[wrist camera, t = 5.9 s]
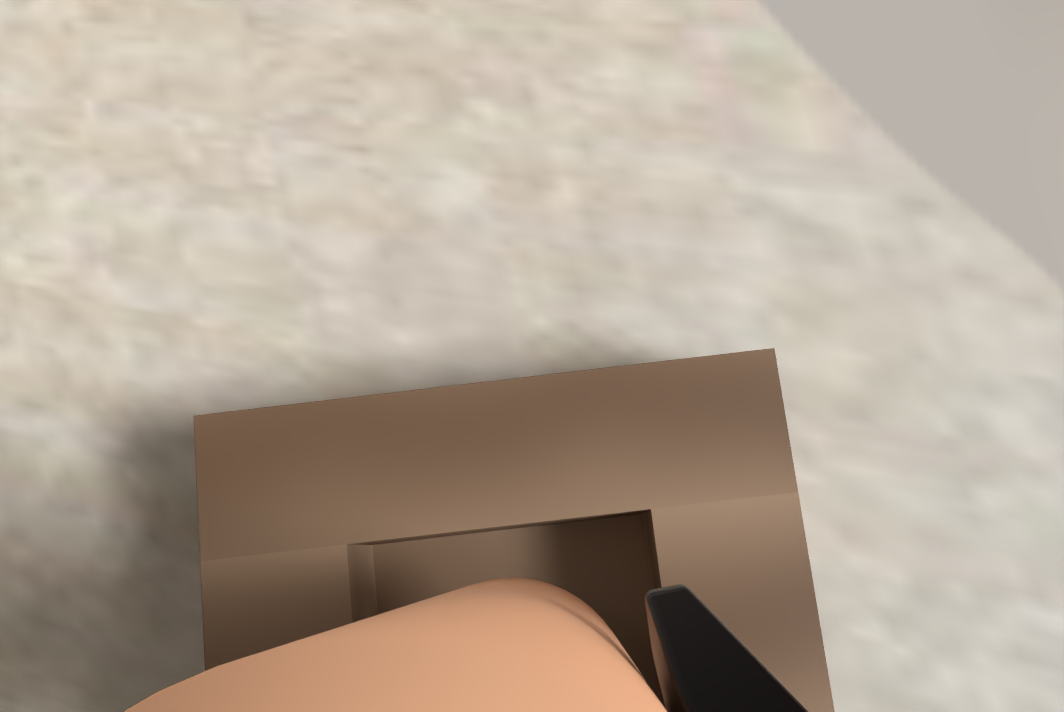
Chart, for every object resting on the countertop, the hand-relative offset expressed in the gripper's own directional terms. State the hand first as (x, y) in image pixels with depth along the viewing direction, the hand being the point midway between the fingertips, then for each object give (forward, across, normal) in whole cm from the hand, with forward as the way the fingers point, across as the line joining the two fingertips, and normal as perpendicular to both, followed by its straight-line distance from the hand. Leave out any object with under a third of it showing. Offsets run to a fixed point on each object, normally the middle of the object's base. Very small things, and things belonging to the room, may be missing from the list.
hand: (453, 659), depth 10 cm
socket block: (+7, 0, +9) cm, 11 cm away
